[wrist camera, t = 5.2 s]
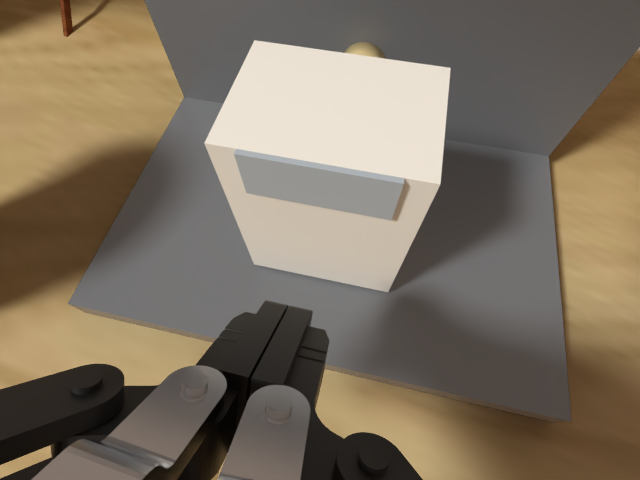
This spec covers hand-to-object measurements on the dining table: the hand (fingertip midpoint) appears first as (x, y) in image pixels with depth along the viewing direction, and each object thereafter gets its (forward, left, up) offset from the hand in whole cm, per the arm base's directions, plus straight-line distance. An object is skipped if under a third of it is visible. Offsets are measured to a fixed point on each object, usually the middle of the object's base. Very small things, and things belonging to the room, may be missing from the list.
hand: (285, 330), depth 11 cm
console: (0, +10, -8) cm, 13 cm away
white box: (0, +7, -6) cm, 9 cm away
